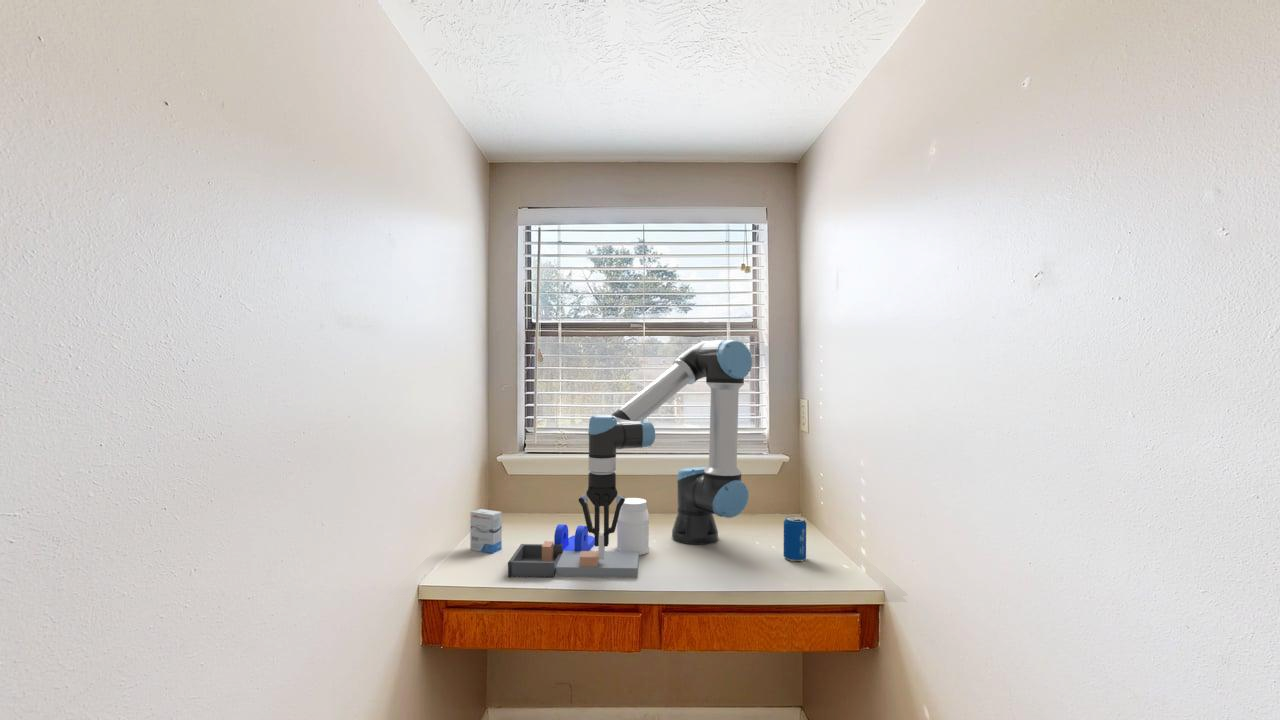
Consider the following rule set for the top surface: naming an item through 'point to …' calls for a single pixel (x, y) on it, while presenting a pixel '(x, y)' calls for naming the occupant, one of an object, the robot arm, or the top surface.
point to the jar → (633, 526)
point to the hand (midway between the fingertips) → (601, 557)
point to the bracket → (573, 538)
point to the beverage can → (794, 538)
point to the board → (609, 567)
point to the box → (533, 562)
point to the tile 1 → (548, 551)
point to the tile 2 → (589, 558)
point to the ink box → (486, 531)
